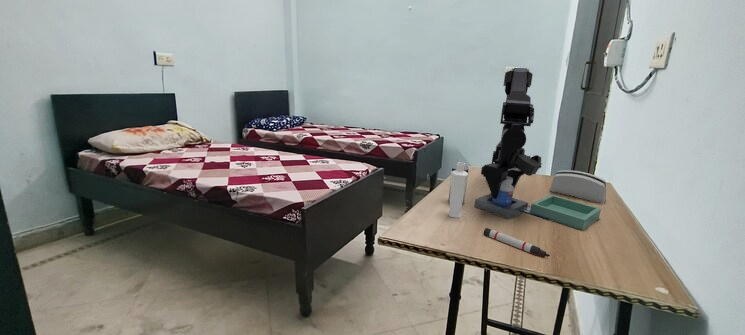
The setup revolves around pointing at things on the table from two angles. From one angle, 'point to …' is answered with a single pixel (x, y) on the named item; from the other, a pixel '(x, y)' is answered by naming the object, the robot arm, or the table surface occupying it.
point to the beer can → (456, 169)
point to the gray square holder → (501, 206)
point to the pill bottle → (505, 193)
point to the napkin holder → (579, 185)
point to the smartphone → (533, 214)
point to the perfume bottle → (457, 190)
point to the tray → (566, 211)
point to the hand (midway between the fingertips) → (502, 195)
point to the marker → (515, 242)
